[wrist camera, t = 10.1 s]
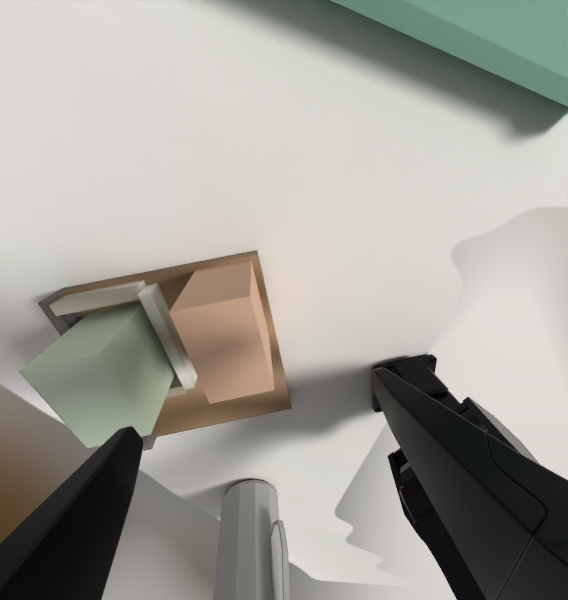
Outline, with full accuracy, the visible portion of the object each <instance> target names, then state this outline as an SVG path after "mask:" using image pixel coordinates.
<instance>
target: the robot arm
mask: <svg viewBox="0 0 568 600" xmlns="http://www.w3.org/2000/svg"><path fill="white" fill-rule="evenodd" d="M436 361H437V359H436V357H434V355H426V356H421V357H416V358H411V359H407V360H402V361H397V362H392V363H387V364H383V365H378V366H375V367H374V368H373V369H372V408H373V410H374V412H381V411H383V413H384V415H385V417H386V420H387V422H388V424H389V426H390V428H391V431H392V433H393V435H394V437H395V439H396V440H397V442H398V444H399V446H400V447H401V448H400V449H398V450H397V451H396V452H394V453H393V452H392V453H391V454H390V455H388V459H389V463H390V466H391V470H392V474H393V477H394V481H395V484H396V487H397V491H398V494H399V497H400V501H401V505H402V508H403V511H404V514H405V516H406V517H407V519H408V520H409V522H410V524H411V525H412V527H413V528H414V530H415V531H416V533H417V534H418V535H419V537H420V538H421V539H422V540H423V541H424V542H425V543H426V545H427V546H428V548H429V549H430V551H431V553H432V554H433V556H434V558H435V559H436V561H437V562H438V564H439V566H440V568H441V570H442V572H443V574H444V575H445V577H446V579H447V581H448V583H449V585H450V587H451V589H452V591H453V593H454V595H455V597H456V599H457V600H568V480H566V479H565V478H563V477H561V476H559V475H557V474H555V473H554V472H552V471H550V470H548V469H546V468H545V467H543V466H541V465H540V464H539V463H538V461H537V460H536V459H535V458H534V457H533V455H532V454H531V453H530V452H529V451H528V450H527V448H526V447H525V446H524V445H523V444H522V442H521V441H520V440H519V439H517V438H516V437H515V436H514V435H513V434H512V433H511V432H510V431H509V430H508V429H507V428H506V427H505V426H504V425H503V424H502V423H501V422H500V421H498V419H496V418H495V417H494V416H493V415H491V414H490V413H489V412H487V411H486V410H485V409H484V408H482V407H481V406H480V405H479V404H477V403H476V402H475V401H473V400H472V399H471V398H469V397H467V398H466V399H465V400H463V403H461V404H460V403H459V402H458V401H457V399H456V398H455V397H454V396H453V395H452V394H451V393H450V392H449V391H448V388H447V387H446V386H445V385H444V384H443V383H442V381H440V379H439V378H438V377H437V376H436V375H435V367H436ZM142 450H143V439H142V438H141V436H140V435H139V434H138V432H137V431H136V430H135V428H134V427H132V426H128V427H124V428H121V429H119V430H117V431H116V432H115V433H114V434H113V435H112V436H111V437H110V438H109V439H108V440H107V441H106V442H105V443H104V444H103V445H102V446H101V447H100V448H99V449H98V450H97V451H96V452H95V453H94V454H93V455H92V456H91V457H90V458H89V459H87V460H86V461H85V462H84V463H83V464H82V465H81V466H80V467H79V468H78V469H77V470H76V471H75V472H74V473H73V474H72V475H71V476H70V477H69V478H68V479H67V480H66V481H65V482H64V483H63V484H61V485H60V486H59V487H58V488H57V489H56V490H55V491H54V492H53V493H52V494H51V495H50V496H49V497H48V498H47V499H46V500H45V501H44V502H43V503H42V504H41V505H40V506H39V507H38V508H37V509H36V510H34V511H33V513H31V514H30V515H29V516H28V517H27V518H26V519H25V520H24V521H23V522H22V523H21V524H20V525H19V526H18V527H17V528H16V529H15V530H14V531H13V532H12V533H11V534H10V535H9V536H8V537H7V538H5V539H4V540H3V541H2V542H1V543H0V600H101V599H102V595H103V592H104V589H105V585H106V582H107V578H108V576H109V572H110V569H111V566H112V562H113V559H114V556H115V552H116V549H117V546H118V542H119V539H120V536H121V532H122V529H123V526H124V523H125V519H126V516H127V513H128V509H129V506H130V503H131V499H132V496H133V492H134V488H135V483H136V478H137V474H138V469H139V464H140V460H141V455H142Z"/></svg>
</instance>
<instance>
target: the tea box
mask: <svg viewBox="0 0 568 600" xmlns="http://www.w3.org/2000/svg"><path fill="white" fill-rule="evenodd" d="M19 372H20V373H21V374H22V375H23V377H24V378H25V379H26V380H27V381H28V382H29V383H30V384H31V386H32V387H33V388H34V389H35V390H36V391H37V392H38V393H39V395H40V396H41V397H42V398H43V399H44V400H45V401H46V402H47V403H48V405H49V406H50V407H51V408H52V409H53V410H54V411H55V412H56V414H57V415H58V416H59V417H60V418H61V419H62V420H63V421H64V423H65V424H66V425H67V426H68V427H69V428H70V429H71V430H72V432H73V433H74V434H75V435H76V436H77V437H78V438H79V439H80V440H81V442H82V443H83V444H84V445H85V446H86V447H87V448H90V447H95V446H100V445H103V444H104V443H105V442H106V441H107V440H108V439H109V438H110V437H111V436H112V435H113V434H114V433H115V432H116V431H117V430H119V429H121V428H124V427H128V426H132V427H134V428H135V430H136V431H137V432H138V434H139V435H140V436H141V437H142V436H147V435H151V433H152V430H153V428H154V425H155V423H156V420H157V418H158V415H159V413H160V410H161V408H162V405H163V403H164V400H165V398H166V395H167V393H168V390H169V388H170V385H171V383H172V380H173V378H174V375H175V373H176V371H175V369H174V367H173V365H172V363H171V361H170V359H169V357H168V355H167V353H166V351H165V349H164V347H163V345H162V343H161V341H160V339H159V337H158V335H157V333H156V331H155V329H154V327H153V325H152V323H151V321H150V319H149V317H148V315H147V313H146V311H145V309H144V307H143V305H142V303H137V304H132V305H127V306H122V307H117V308H112V309H107V310H102V311H97V312H92V313H89V314H88V315H86V316H85V317H84V318H83V319H81V320H80V321H79V322H78V323H77V324H75V325H74V326H73V327H72V328H71V329H69V330H68V331H67V332H66V333H64V334H63V335H62V336H61V337H60V338H58V339H57V340H56V341H55V342H54V343H52V344H51V345H50V346H49V347H47V348H46V349H45V350H44V351H43V352H41V353H40V354H39V355H38V356H37V357H35V358H34V359H33V360H32V361H30V362H29V363H28V364H27V365H26V366H24V367H23V368H22V369H21V370H20V371H19Z"/></svg>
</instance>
